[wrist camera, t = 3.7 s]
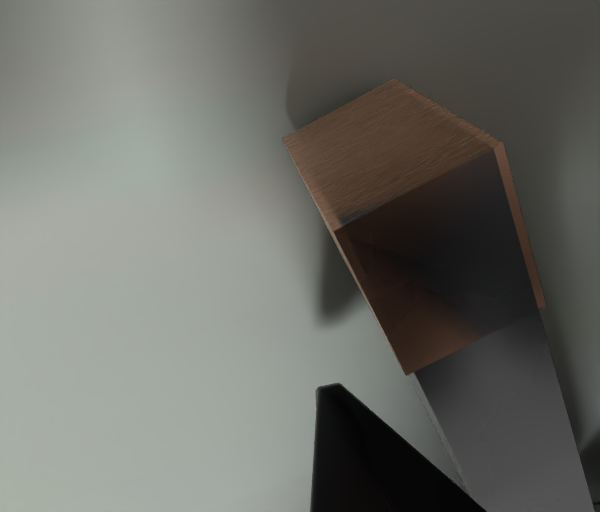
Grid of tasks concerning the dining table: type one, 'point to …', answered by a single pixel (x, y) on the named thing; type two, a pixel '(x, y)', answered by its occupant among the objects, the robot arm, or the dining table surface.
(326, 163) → the bar
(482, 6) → the dining table surface
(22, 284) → the dining table surface
